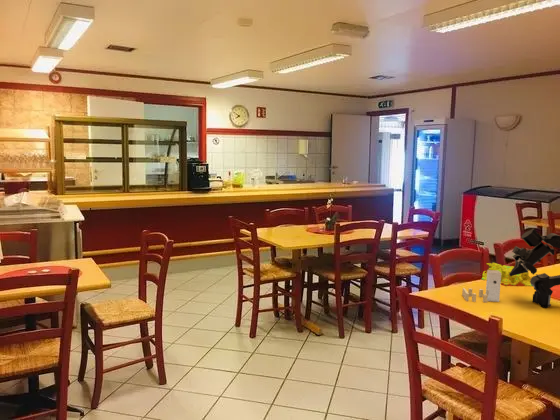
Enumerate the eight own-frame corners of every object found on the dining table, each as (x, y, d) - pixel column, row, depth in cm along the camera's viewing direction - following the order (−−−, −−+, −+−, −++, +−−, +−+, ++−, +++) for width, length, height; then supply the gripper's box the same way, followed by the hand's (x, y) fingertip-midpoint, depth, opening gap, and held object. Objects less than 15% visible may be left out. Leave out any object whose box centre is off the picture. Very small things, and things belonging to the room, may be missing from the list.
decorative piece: (534, 264, 271) (534, 276, 245) (533, 277, 272) (532, 290, 246) (486, 259, 283) (480, 269, 257) (485, 271, 284) (479, 283, 258)
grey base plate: (498, 298, 229) (499, 289, 229) (505, 306, 218) (506, 297, 217) (461, 296, 233) (462, 287, 232) (466, 303, 221) (467, 294, 220)
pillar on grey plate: (496, 298, 226) (498, 270, 224) (499, 301, 221) (501, 273, 219) (485, 297, 227) (487, 270, 225) (487, 301, 222) (490, 272, 220)
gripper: (518, 237, 227) (493, 258, 231) (531, 245, 209) (503, 267, 213) (534, 254, 227) (508, 275, 230) (548, 263, 209) (520, 285, 212)
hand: (509, 275), depth 221 cm, fingers closed
